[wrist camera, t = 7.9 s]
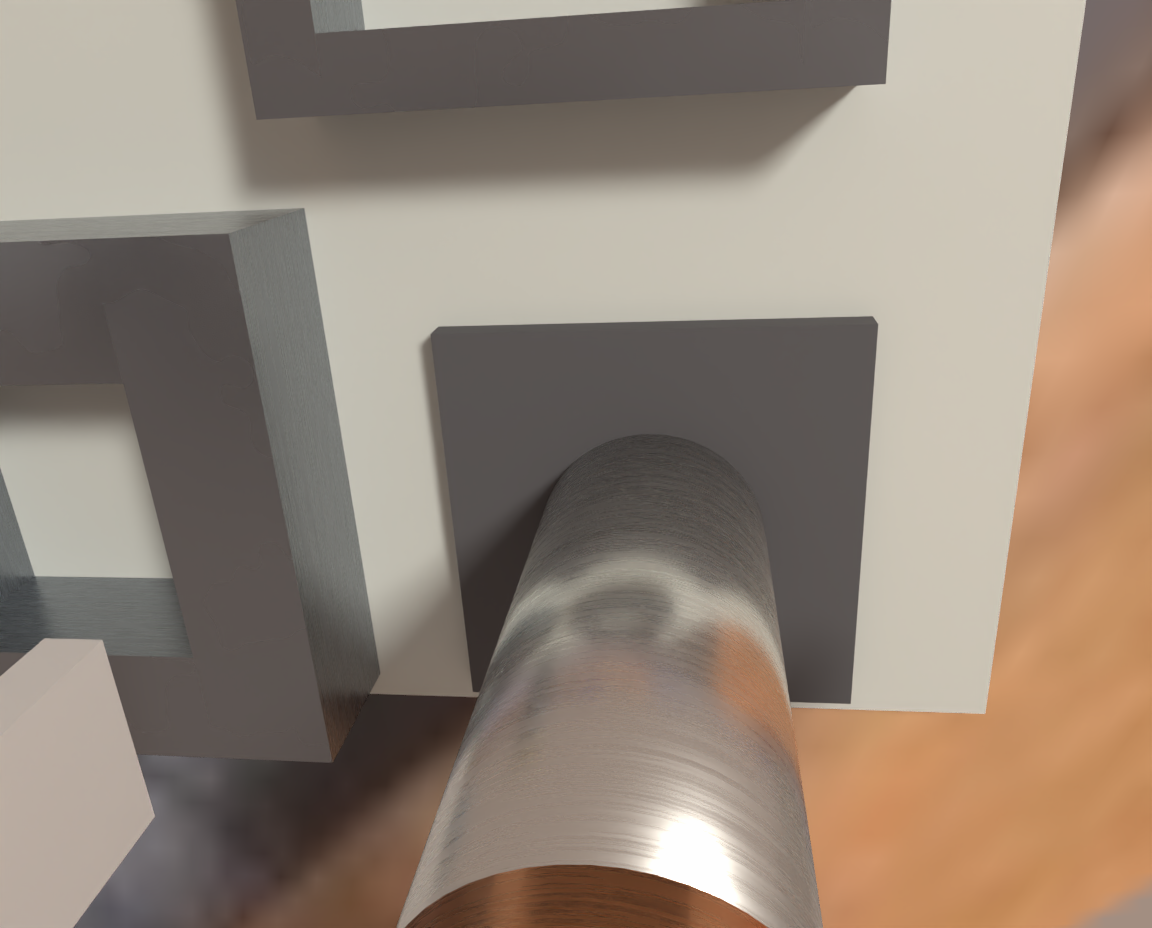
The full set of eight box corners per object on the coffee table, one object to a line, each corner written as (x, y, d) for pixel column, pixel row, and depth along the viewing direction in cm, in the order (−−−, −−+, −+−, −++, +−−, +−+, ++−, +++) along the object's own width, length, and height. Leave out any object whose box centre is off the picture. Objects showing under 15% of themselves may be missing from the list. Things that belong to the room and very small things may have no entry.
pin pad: (478, 676, 18) (472, 691, 18) (438, 326, 15) (430, 334, 15) (846, 687, 17) (851, 704, 17) (872, 315, 14) (878, 324, 14)
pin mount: (-27, 661, 20) (-129, 743, 17) (-186, 228, 16) (-340, 255, 14) (380, 673, 18) (332, 762, 16) (304, 208, 15) (228, 233, 12)
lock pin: (535, 435, 15) (223, 1120, 5) (767, 432, 15) (912, 1187, 5) (550, 629, 17) (329, 1457, 7) (761, 633, 16) (866, 1539, 6)
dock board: (-134, 655, 21) (-165, 676, 20) (-703, -711, 12) (-791, -759, 12) (973, 687, 18) (985, 713, 17) (1216, -1132, 9) (1260, -1236, 8)
